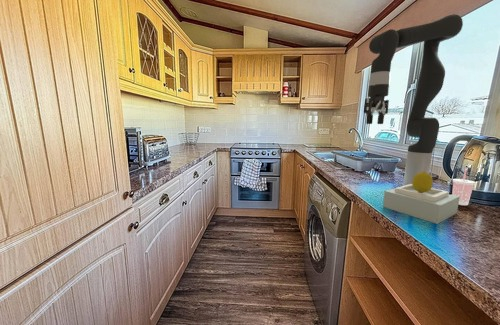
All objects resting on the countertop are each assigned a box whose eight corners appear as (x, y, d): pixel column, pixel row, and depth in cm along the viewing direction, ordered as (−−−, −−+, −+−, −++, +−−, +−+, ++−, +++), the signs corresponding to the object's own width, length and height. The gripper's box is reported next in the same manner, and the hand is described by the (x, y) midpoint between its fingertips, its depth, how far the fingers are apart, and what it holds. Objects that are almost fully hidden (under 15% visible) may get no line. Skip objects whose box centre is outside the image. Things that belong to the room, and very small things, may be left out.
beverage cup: (470, 203, 83) (477, 167, 80) (471, 207, 78) (478, 170, 76) (448, 199, 87) (454, 165, 84) (448, 203, 82) (455, 167, 80)
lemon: (423, 191, 77) (427, 170, 76) (434, 196, 72) (438, 173, 70) (407, 190, 78) (410, 169, 76) (417, 195, 72) (420, 172, 71)
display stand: (404, 199, 86) (406, 181, 85) (456, 213, 73) (460, 192, 72) (382, 206, 78) (385, 187, 77) (437, 223, 65) (441, 200, 64)
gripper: (379, 87, 96) (375, 124, 99) (360, 84, 89) (356, 123, 92) (397, 85, 90) (392, 124, 93) (378, 81, 82) (374, 123, 85)
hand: (374, 124), depth 92 cm, fingers open, 8 cm apart
